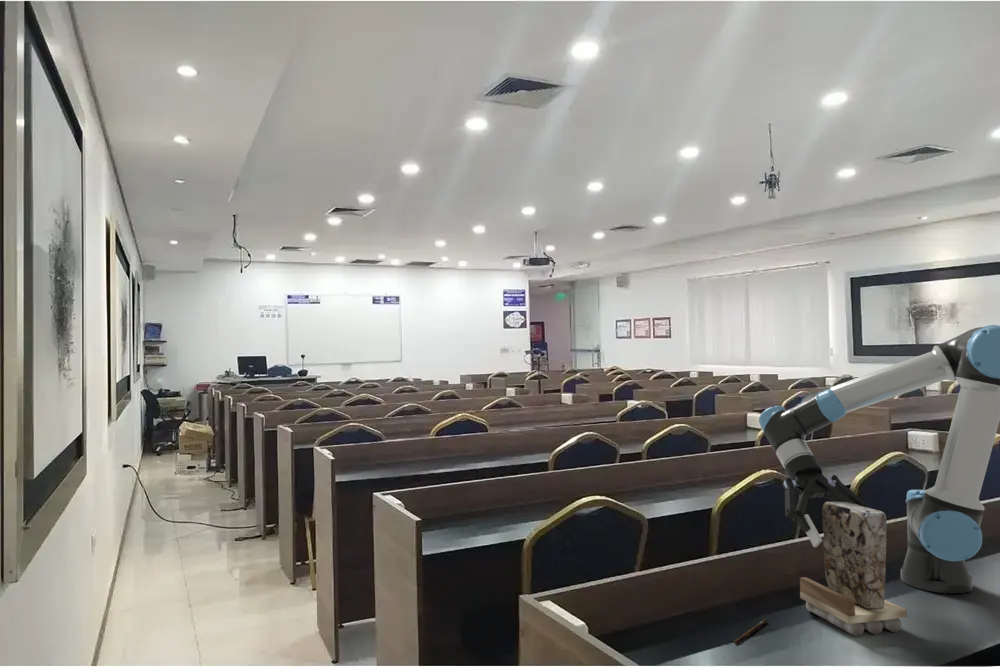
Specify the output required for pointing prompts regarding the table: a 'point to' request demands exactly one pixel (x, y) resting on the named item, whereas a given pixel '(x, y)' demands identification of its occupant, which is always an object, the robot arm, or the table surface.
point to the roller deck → (849, 610)
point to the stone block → (855, 552)
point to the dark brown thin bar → (750, 631)
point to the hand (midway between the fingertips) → (845, 541)
